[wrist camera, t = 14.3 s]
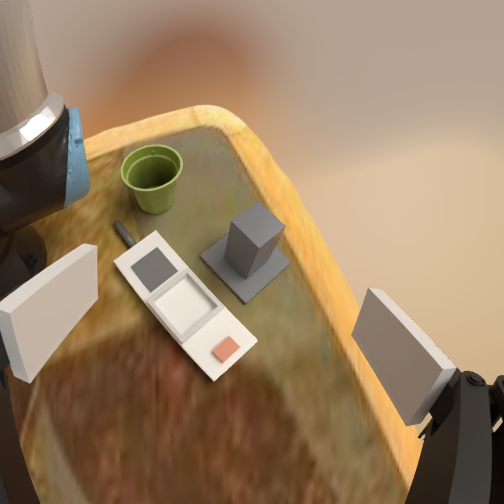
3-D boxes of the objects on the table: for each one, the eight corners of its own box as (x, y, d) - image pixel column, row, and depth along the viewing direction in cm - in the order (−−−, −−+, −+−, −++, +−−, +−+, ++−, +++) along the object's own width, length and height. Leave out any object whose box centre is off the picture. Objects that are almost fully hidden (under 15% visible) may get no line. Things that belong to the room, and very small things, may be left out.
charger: (223, 256, 44) (230, 220, 35) (246, 239, 46) (258, 201, 37) (246, 279, 43) (259, 248, 34) (268, 260, 45) (285, 226, 36)
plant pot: (190, 213, 47) (190, 178, 40) (136, 231, 44) (126, 198, 36) (174, 174, 50) (172, 138, 43) (125, 189, 47) (116, 154, 40)
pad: (199, 256, 44) (199, 254, 43) (246, 221, 48) (247, 219, 48) (245, 304, 42) (246, 303, 41) (290, 263, 46) (291, 261, 46)
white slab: (98, 240, 42) (92, 229, 39) (137, 212, 45) (134, 201, 43) (213, 381, 36) (214, 380, 33) (255, 343, 39) (259, 339, 37)
